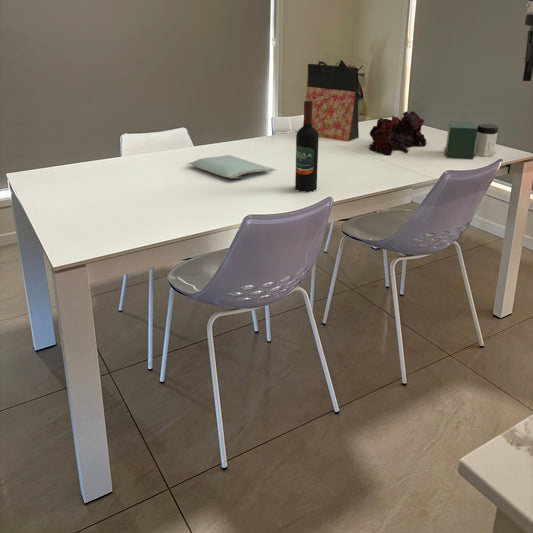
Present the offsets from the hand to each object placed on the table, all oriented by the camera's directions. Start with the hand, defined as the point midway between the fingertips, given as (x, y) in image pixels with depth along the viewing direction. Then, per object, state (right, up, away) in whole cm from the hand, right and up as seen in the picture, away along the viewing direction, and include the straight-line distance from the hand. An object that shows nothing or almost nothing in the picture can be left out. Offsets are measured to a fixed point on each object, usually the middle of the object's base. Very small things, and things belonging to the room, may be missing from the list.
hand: (526, 80), depth 225 cm
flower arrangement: (-42, -18, +37) cm, 59 cm away
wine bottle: (-86, -44, -18) cm, 98 cm away
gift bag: (-68, -9, +56) cm, 89 cm away
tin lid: (-18, -13, +20) cm, 30 cm away
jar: (-7, -23, +26) cm, 35 cm away
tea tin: (-18, -24, +25) cm, 39 cm away
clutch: (-114, -34, +3) cm, 119 cm away
